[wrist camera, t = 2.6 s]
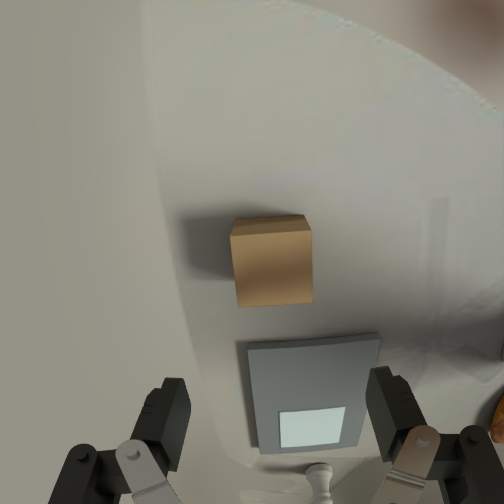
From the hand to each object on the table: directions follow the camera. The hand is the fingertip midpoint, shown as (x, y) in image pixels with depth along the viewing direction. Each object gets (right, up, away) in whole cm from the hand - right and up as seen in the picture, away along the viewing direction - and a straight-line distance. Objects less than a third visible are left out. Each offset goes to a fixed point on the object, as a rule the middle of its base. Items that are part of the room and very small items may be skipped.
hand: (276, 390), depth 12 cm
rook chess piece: (+10, -29, +29) cm, 42 cm away
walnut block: (+1, +6, +16) cm, 18 cm away
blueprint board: (+6, -13, +23) cm, 27 cm away
